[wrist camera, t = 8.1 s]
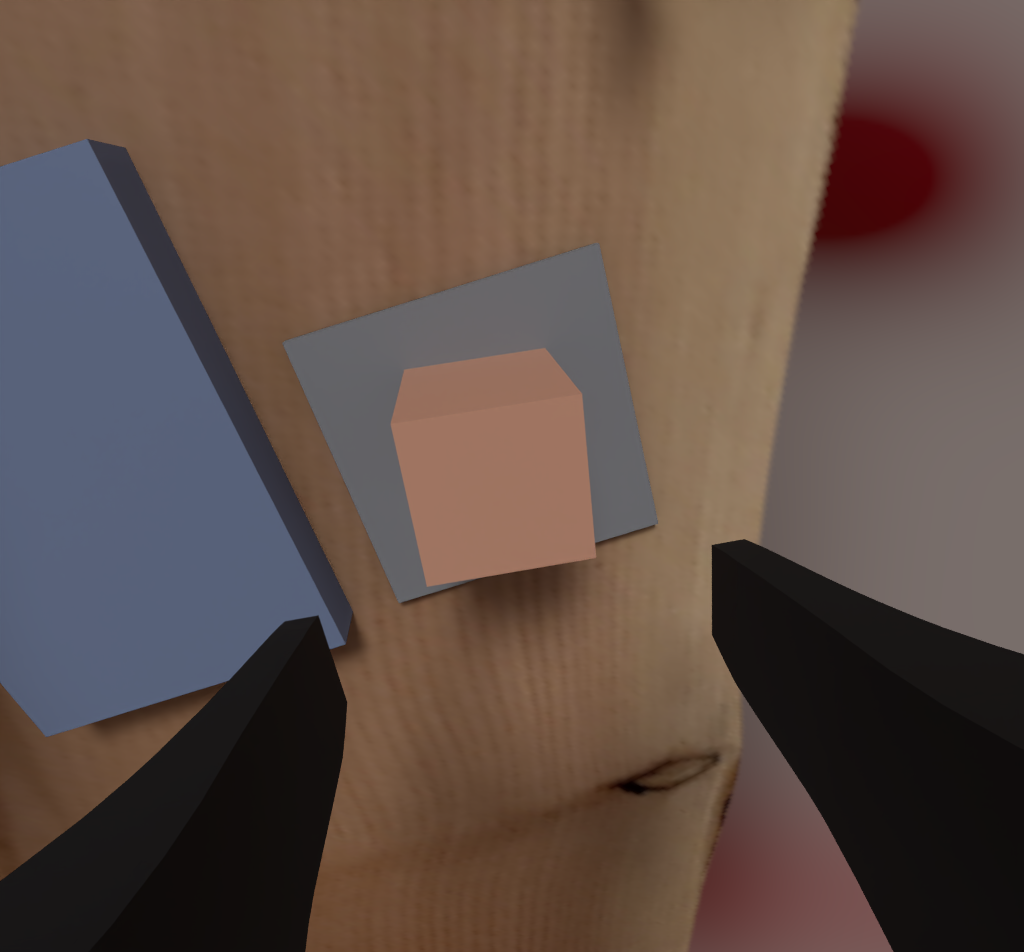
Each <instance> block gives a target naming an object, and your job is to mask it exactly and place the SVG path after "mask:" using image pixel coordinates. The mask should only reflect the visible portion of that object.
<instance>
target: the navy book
mask: <svg viewBox="0 0 1024 952" xmlns="http://www.w3.org/2000/svg"><path fill="white" fill-rule="evenodd" d="M352 613H353V611H352V609H351V607H350V605H349V603H348V601H347V599H346V596H345V594H344V592H343V590H342V588H341V586H340V584H339V582H338V580H337V578H336V576H335V574H334V572H333V570H332V568H331V566H330V564H329V562H328V560H327V558H326V556H325V554H324V552H323V550H322V548H321V546H320V543H319V541H318V539H317V537H316V535H315V533H314V531H313V529H312V527H311V525H310V523H309V521H308V519H307V517H306V515H305V513H304V511H303V509H302V507H301V505H300V503H299V501H298V499H297V497H296V495H295V493H294V490H293V488H292V486H291V484H290V482H289V480H288V478H287V476H286V474H285V472H284V470H283V468H282V466H281V464H280V462H279V460H278V458H277V456H276V454H275V452H274V450H273V448H272V446H271V444H270V442H269V440H268V437H267V435H266V433H265V431H264V429H263V427H262V425H261V423H260V421H259V419H258V417H257V415H256V413H255V411H254V409H253V407H252V405H251V403H250V401H249V399H248V397H247V395H246V393H245V391H244V389H243V387H242V384H241V382H240V380H239V378H238V376H237V374H236V372H235V370H234V368H233V366H232V364H231V362H230V360H229V358H228V356H227V354H226V352H225V350H224V348H223V346H222V344H221V342H220V340H219V338H218V336H217V334H216V331H215V329H214V327H213V325H212V323H211V321H210V319H209V317H208V315H207V313H206V311H205V309H204V307H203V305H202V303H201V301H200V299H199V297H198V295H197V293H196V291H195V289H194V287H193V285H192V283H191V281H190V278H189V276H188V274H187V272H186V270H185V268H184V266H183V264H182V262H181V260H180V258H179V256H178V254H177V252H176V250H175V248H174V246H173V244H172V242H171V240H170V238H169V236H168V234H167V232H166V230H165V228H164V225H163V223H162V221H161V219H160V217H159V215H158V213H157V211H156V209H155V207H154V205H153V203H152V201H151V199H150V197H149V195H148V193H147V191H146V189H145V187H144V185H143V183H142V181H141V179H140V177H139V175H138V172H137V170H136V168H135V166H134V164H133V162H132V160H131V158H130V156H129V154H128V152H127V150H126V148H124V147H119V146H115V145H111V144H106V143H102V142H98V141H93V140H89V139H86V140H83V141H79V142H76V143H73V144H70V145H67V146H64V147H61V148H57V149H54V150H51V151H48V152H45V153H42V154H39V155H36V156H32V157H29V158H26V159H23V160H20V161H17V162H14V163H11V164H7V165H4V166H1V167H0V683H1V684H2V686H3V687H4V688H5V689H6V690H7V691H8V693H9V694H10V695H11V696H12V697H13V698H14V700H15V701H16V702H17V703H18V704H19V706H20V707H21V708H22V709H23V710H24V711H25V713H26V714H27V715H28V716H29V717H30V718H31V720H32V721H33V722H34V723H35V724H36V726H37V727H38V728H39V729H40V730H41V731H42V733H43V734H44V735H45V736H46V737H48V736H52V735H55V734H58V733H61V732H64V731H68V730H71V729H74V728H77V727H81V726H84V725H87V724H90V723H93V722H97V721H100V720H103V719H106V718H110V717H113V716H116V715H119V714H123V713H126V712H129V711H132V710H135V709H139V708H142V707H145V706H148V705H152V704H155V703H158V702H161V701H164V700H168V699H171V698H174V697H177V696H181V695H184V694H187V693H190V692H194V691H197V690H200V689H203V688H206V687H210V686H213V685H216V684H219V683H223V682H226V681H229V680H230V679H231V678H232V676H233V675H234V674H235V673H236V672H237V671H238V670H239V669H240V668H241V667H242V666H243V665H244V664H245V662H246V661H247V660H248V659H249V658H250V657H251V656H252V655H253V654H254V653H255V652H256V650H257V649H258V648H259V647H260V646H261V645H262V644H263V643H264V642H265V641H266V640H267V639H268V637H269V636H270V635H271V634H272V633H273V632H274V631H275V630H276V629H277V628H278V627H279V626H280V625H281V624H282V623H283V622H284V621H290V620H295V619H301V618H306V617H312V616H318V615H319V618H320V621H321V624H322V627H323V630H324V633H325V636H326V640H327V643H328V646H329V649H332V648H335V647H339V646H342V645H345V644H346V641H347V636H348V632H349V627H350V622H351V618H352Z"/></svg>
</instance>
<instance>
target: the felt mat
mask: <svg viewBox="0 0 1024 952" xmlns="http://www.w3.org/2000/svg"><path fill="white" fill-rule="evenodd" d="M283 346H284V348H285V350H286V352H287V355H288V357H289V359H290V361H291V363H292V366H293V368H294V370H295V372H296V375H297V377H298V379H299V381H300V384H301V386H302V388H303V390H304V392H305V395H306V397H307V399H308V401H309V404H310V406H311V408H312V410H313V413H314V415H315V417H316V419H317V421H318V424H319V426H320V428H321V430H322V433H323V435H324V437H325V439H326V442H327V444H328V446H329V448H330V450H331V453H332V455H333V457H334V459H335V462H336V464H337V466H338V468H339V471H340V473H341V475H342V477H343V480H344V482H345V484H346V486H347V488H348V491H349V493H350V495H351V497H352V500H353V502H354V504H355V506H356V509H357V511H358V513H359V515H360V517H361V520H362V522H363V524H364V526H365V529H366V531H367V533H368V535H369V538H370V540H371V542H372V544H373V546H374V549H375V551H376V553H377V555H378V558H379V560H380V562H381V564H382V567H383V569H384V571H385V573H386V575H387V578H388V580H389V582H390V584H391V587H392V589H393V591H394V593H395V596H396V598H397V600H398V602H399V603H401V602H404V601H408V600H411V599H414V598H417V597H421V596H424V595H427V594H430V593H434V592H437V591H440V590H443V589H447V588H450V587H453V586H456V585H460V584H463V583H466V582H469V581H473V580H476V579H479V578H476V579H470V580H464V581H458V582H452V583H446V584H440V585H435V586H429V587H427V585H426V580H425V576H424V571H423V567H422V563H421V558H420V554H419V549H418V545H417V540H416V536H415V531H414V527H413V522H412V518H411V513H410V509H409V504H408V500H407V496H406V491H405V487H404V482H403V478H402V473H401V469H400V464H399V460H398V455H397V451H396V446H395V442H394V437H393V433H392V429H391V420H392V416H393V412H394V408H395V404H396V400H397V396H398V392H399V388H400V385H401V381H402V377H403V373H404V370H405V369H412V368H418V367H425V366H431V365H438V364H444V363H451V362H457V361H464V360H470V359H477V358H483V357H490V356H496V355H503V354H509V353H516V352H522V351H529V350H535V349H542V348H546V350H547V351H548V352H549V353H550V355H551V356H552V357H553V358H554V360H555V361H556V362H557V363H558V365H559V366H560V367H561V368H562V370H563V371H564V372H565V373H566V374H567V376H568V377H569V378H570V379H571V381H572V382H573V383H574V384H575V386H576V387H577V388H578V389H579V391H580V392H581V393H582V398H583V410H584V421H585V433H586V445H587V456H588V468H589V480H590V491H591V503H592V515H593V526H594V538H595V543H596V542H600V541H603V540H606V539H609V538H613V537H616V536H619V535H622V534H626V533H629V532H632V531H635V530H639V529H642V528H645V527H648V526H652V525H655V524H658V520H657V515H656V511H655V506H654V501H653V496H652V492H651V487H650V482H649V477H648V473H647V468H646V463H645V459H644V454H643V449H642V444H641V440H640V435H639V430H638V425H637V421H636V416H635V411H634V407H633V402H632V397H631V392H630V388H629V383H628V378H627V373H626V369H625V364H624V359H623V354H622V350H621V345H620V340H619V336H618V331H617V326H616V321H615V317H614V312H613V307H612V302H611V298H610V293H609V288H608V283H607V279H606V274H605V269H604V265H603V260H602V255H601V250H600V246H599V243H594V244H591V245H588V246H585V247H581V248H578V249H575V250H572V251H569V252H566V253H562V254H559V255H556V256H553V257H550V258H546V259H543V260H540V261H537V262H534V263H531V264H527V265H524V266H521V267H518V268H515V269H512V270H508V271H505V272H502V273H499V274H496V275H492V276H489V277H486V278H483V279H480V280H477V281H473V282H470V283H467V284H464V285H461V286H458V287H454V288H451V289H448V290H445V291H442V292H438V293H435V294H432V295H429V296H426V297H423V298H419V299H416V300H413V301H410V302H407V303H404V304H400V305H397V306H394V307H391V308H388V309H384V310H381V311H378V312H375V313H372V314H369V315H365V316H362V317H359V318H356V319H353V320H350V321H346V322H343V323H340V324H337V325H334V326H330V327H327V328H324V329H321V330H318V331H315V332H311V333H308V334H305V335H302V336H299V337H296V338H292V339H289V340H286V341H284V342H283ZM481 578H482V577H481Z"/></svg>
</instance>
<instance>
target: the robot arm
mask: <svg viewBox="0 0 1024 952" xmlns="http://www.w3.org/2000/svg"><path fill="white" fill-rule="evenodd" d="M712 636H713V638H714V640H715V642H716V644H717V646H718V648H719V650H720V653H721V655H722V657H723V659H724V661H725V663H726V665H727V667H728V669H729V671H730V673H731V675H732V677H733V679H734V681H735V683H736V684H737V686H738V688H739V689H740V691H741V692H742V694H743V695H744V697H745V698H746V700H747V702H748V703H749V705H750V706H751V708H752V709H753V711H754V712H755V714H756V715H757V717H758V718H759V720H760V721H761V723H762V724H763V726H764V727H765V729H766V730H767V732H768V733H769V735H770V736H771V738H772V739H773V741H774V742H775V744H776V745H777V747H778V748H779V750H780V751H781V753H782V754H783V756H784V757H785V759H786V760H787V762H788V763H789V765H790V766H791V768H792V769H793V771H794V772H795V774H796V775H797V777H798V778H799V780H800V781H801V783H802V785H803V786H804V787H805V789H806V791H807V792H808V794H809V795H810V797H811V799H812V800H813V802H814V803H815V805H816V807H817V808H818V810H819V812H820V813H821V815H822V817H823V818H824V820H825V822H826V824H827V825H828V827H829V829H830V831H831V833H832V835H833V837H834V838H835V840H836V842H837V844H838V846H839V848H840V850H841V851H842V853H843V855H844V857H845V859H846V861H847V863H848V864H849V866H850V868H851V870H852V872H853V874H854V876H855V877H856V879H857V881H858V883H859V885H860V887H861V889H862V891H863V893H864V895H865V897H866V899H867V901H868V902H869V905H870V907H871V909H872V911H873V913H874V914H875V916H876V918H877V920H878V922H879V924H880V926H881V928H882V930H883V932H884V934H885V936H886V938H887V940H888V942H889V944H890V945H891V948H892V950H893V951H894V952H1024V654H1021V653H1017V652H1015V651H1011V650H1008V649H1005V648H1002V647H998V646H995V645H992V644H989V643H986V642H984V641H981V640H977V639H975V638H972V637H969V636H966V635H963V634H960V633H957V632H955V631H952V630H949V629H946V628H943V627H940V626H938V625H935V624H933V623H930V622H927V621H925V620H922V619H919V618H917V617H914V616H912V615H910V614H907V613H905V612H902V611H900V610H897V609H895V608H893V607H890V606H888V605H885V604H883V603H881V602H878V601H876V600H874V599H871V598H869V597H867V596H865V595H862V594H860V593H858V592H856V591H854V590H851V589H849V588H847V587H845V586H843V585H841V584H838V583H836V582H834V581H832V580H830V579H828V578H826V577H823V576H822V575H819V574H817V573H815V572H813V571H811V570H809V569H807V568H805V567H803V566H801V565H799V564H797V563H795V562H793V561H791V560H788V559H786V558H785V557H782V556H780V555H778V554H776V553H774V552H772V551H770V550H768V549H766V548H764V547H761V546H759V545H757V544H755V543H752V542H750V541H747V540H745V539H743V540H737V541H732V542H726V543H721V544H715V545H712ZM346 712H347V700H346V697H345V694H344V691H343V688H342V685H341V682H340V679H339V676H338V673H337V670H336V667H335V664H334V661H333V658H332V655H331V652H330V649H329V646H328V643H327V640H326V636H325V633H324V630H323V627H322V624H321V621H320V618H319V615H318V616H312V617H306V618H301V619H295V620H290V621H284V622H283V623H282V624H281V625H280V626H279V627H278V628H277V629H276V630H275V631H274V632H273V633H272V634H271V635H270V636H269V637H268V639H267V640H266V641H265V642H264V643H263V644H262V645H261V646H260V647H259V648H258V649H257V650H256V652H255V653H254V654H253V655H252V656H251V657H250V658H249V659H248V660H247V661H246V662H245V664H244V665H243V666H242V667H241V668H240V669H239V670H238V671H237V672H236V673H235V674H234V675H233V676H232V678H231V679H230V680H229V681H228V682H227V683H226V684H225V685H224V686H223V687H222V688H221V689H220V690H219V691H218V692H217V694H216V695H215V696H214V697H213V698H212V699H211V700H210V701H209V702H208V703H207V704H206V705H205V706H204V707H203V708H202V709H201V710H200V711H199V712H198V713H197V714H196V715H195V716H194V717H193V718H192V719H191V720H190V721H189V722H188V723H187V724H186V725H185V726H184V727H183V728H182V729H181V730H180V731H179V732H178V733H177V734H176V735H175V736H174V737H173V738H172V739H171V740H170V741H169V742H168V743H167V744H166V745H165V746H164V747H163V748H162V749H161V750H160V751H159V752H158V753H157V754H156V755H154V756H153V757H152V758H151V759H150V760H149V761H148V762H147V763H146V764H145V765H144V766H143V767H141V768H140V769H139V770H138V771H137V772H136V773H135V774H134V775H133V776H131V777H130V778H129V779H128V780H127V781H126V782H125V783H123V784H122V785H121V786H120V787H119V788H118V789H116V790H115V791H114V792H113V793H112V794H111V795H109V796H108V797H107V798H106V799H105V800H104V801H102V802H101V803H100V804H99V805H98V806H96V807H95V808H94V809H93V810H92V811H91V812H89V813H88V814H87V815H86V816H84V817H83V818H82V819H81V820H80V821H78V822H77V823H76V824H74V825H73V826H72V827H71V828H69V829H68V830H67V831H65V832H64V833H63V834H61V835H60V836H59V837H58V838H56V839H55V840H54V841H52V842H51V843H50V844H48V845H47V846H46V847H44V848H43V849H42V850H41V851H39V852H38V853H37V854H35V855H34V856H33V857H31V858H30V859H29V860H28V861H26V862H25V863H24V864H22V865H21V866H20V867H18V868H17V869H16V870H14V871H13V872H12V873H11V874H9V875H8V876H7V877H5V878H4V879H3V880H1V881H0V952H305V949H306V941H307V933H308V925H309V918H310V913H311V907H312V901H313V896H314V890H315V885H316V881H317V876H318V872H319V867H320V862H321V858H322V853H323V848H324V844H325V839H326V835H327V830H328V825H329V821H330V816H331V811H332V807H333V802H334V797H335V793H336V788H337V783H338V778H339V773H340V768H341V763H342V758H343V749H344V739H345V727H346Z"/></svg>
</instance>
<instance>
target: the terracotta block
mask: <svg viewBox="0 0 1024 952" xmlns="http://www.w3.org/2000/svg"><path fill="white" fill-rule="evenodd" d="M391 429H392V433H393V437H394V442H395V446H396V451H397V455H398V460H399V464H400V469H401V473H402V478H403V482H404V487H405V491H406V496H407V500H408V504H409V509H410V513H411V518H412V522H413V527H414V531H415V536H416V540H417V545H418V549H419V554H420V558H421V563H422V567H423V571H424V576H425V580H426V585H427V587H429V586H435V585H440V584H446V583H452V582H458V581H464V580H470V579H476V578H481V577H487V576H493V575H499V574H505V573H511V572H516V571H522V570H528V569H534V568H540V567H546V566H552V565H557V564H563V563H569V562H575V561H581V560H587V559H592V558H596V550H595V538H594V526H593V515H592V503H591V491H590V480H589V468H588V456H587V445H586V433H585V421H584V410H583V398H582V393H581V392H580V391H579V389H578V388H577V387H576V386H575V384H574V383H573V382H572V381H571V379H570V378H569V377H568V376H567V374H566V373H565V372H564V371H563V370H562V368H561V367H560V366H559V365H558V363H557V362H556V361H555V360H554V358H553V357H552V356H551V355H550V353H549V352H548V351H547V350H546V348H542V349H535V350H529V351H522V352H516V353H509V354H503V355H496V356H490V357H483V358H477V359H470V360H464V361H457V362H451V363H444V364H438V365H431V366H425V367H418V368H412V369H405V370H404V373H403V377H402V381H401V385H400V388H399V392H398V396H397V400H396V404H395V408H394V412H393V416H392V420H391Z"/></svg>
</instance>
